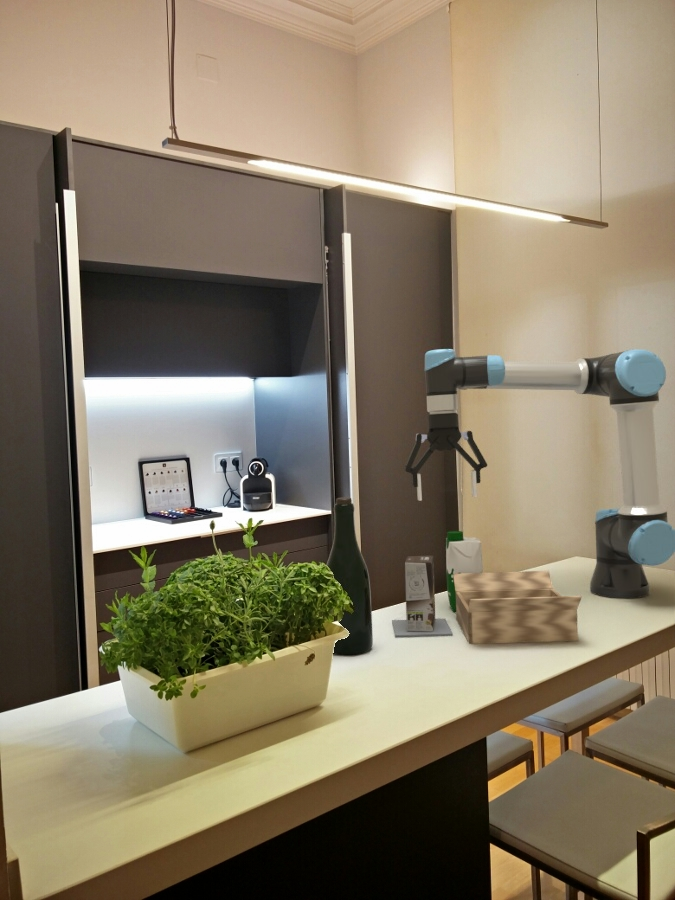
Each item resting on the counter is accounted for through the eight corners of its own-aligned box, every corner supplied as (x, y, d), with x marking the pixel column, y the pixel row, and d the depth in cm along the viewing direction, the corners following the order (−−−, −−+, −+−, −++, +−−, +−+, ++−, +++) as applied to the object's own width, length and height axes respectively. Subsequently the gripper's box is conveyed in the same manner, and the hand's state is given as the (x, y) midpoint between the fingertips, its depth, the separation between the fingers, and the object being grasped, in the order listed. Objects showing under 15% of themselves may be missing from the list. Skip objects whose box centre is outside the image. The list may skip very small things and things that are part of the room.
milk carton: (445, 605, 198) (443, 529, 198) (480, 604, 198) (478, 528, 197) (450, 613, 190) (447, 534, 189) (486, 612, 189) (484, 533, 189)
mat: (445, 620, 184) (445, 618, 184) (452, 635, 171) (452, 633, 171) (392, 622, 184) (392, 620, 184) (395, 637, 171) (395, 635, 171)
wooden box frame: (549, 613, 187) (548, 570, 187) (582, 645, 160) (581, 595, 160) (454, 615, 187) (453, 573, 187) (471, 648, 161) (470, 599, 160)
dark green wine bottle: (372, 656, 158) (367, 499, 157) (322, 656, 159) (317, 500, 157) (373, 641, 168) (368, 494, 167) (326, 642, 169) (321, 495, 168)
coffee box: (434, 632, 172) (432, 562, 171) (406, 631, 173) (403, 562, 173) (436, 621, 181) (434, 554, 180) (409, 621, 182) (407, 554, 182)
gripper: (489, 409, 189) (494, 493, 190) (390, 415, 189) (395, 499, 190) (496, 409, 182) (500, 497, 183) (393, 415, 182) (398, 503, 183)
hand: (447, 498), depth 186 cm, fingers open, 13 cm apart
